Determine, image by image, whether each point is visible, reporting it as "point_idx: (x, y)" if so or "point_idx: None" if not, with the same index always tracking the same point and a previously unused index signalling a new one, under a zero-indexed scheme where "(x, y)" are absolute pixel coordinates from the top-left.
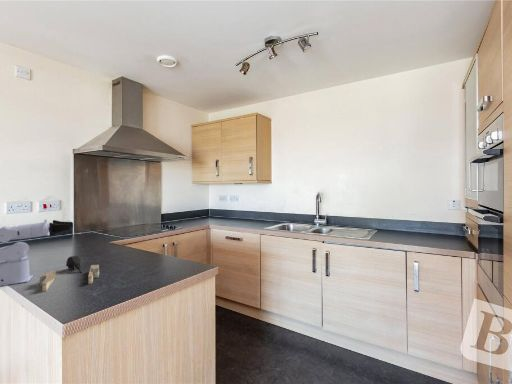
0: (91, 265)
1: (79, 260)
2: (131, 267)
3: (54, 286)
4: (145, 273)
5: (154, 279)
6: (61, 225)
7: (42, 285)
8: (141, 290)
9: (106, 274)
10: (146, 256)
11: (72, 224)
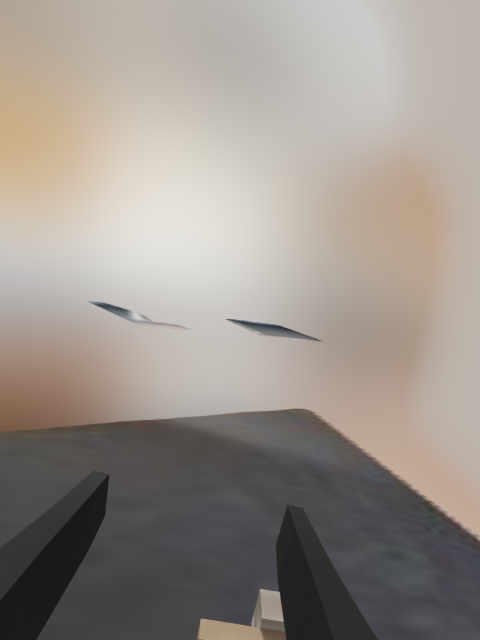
0: (207, 637)
1: None
2: (233, 499)
3: None
4: (310, 487)
5: (362, 486)
6: (336, 615)
7: None
8: (442, 527)
9: (279, 591)
10: (137, 441)
11: (102, 496)
